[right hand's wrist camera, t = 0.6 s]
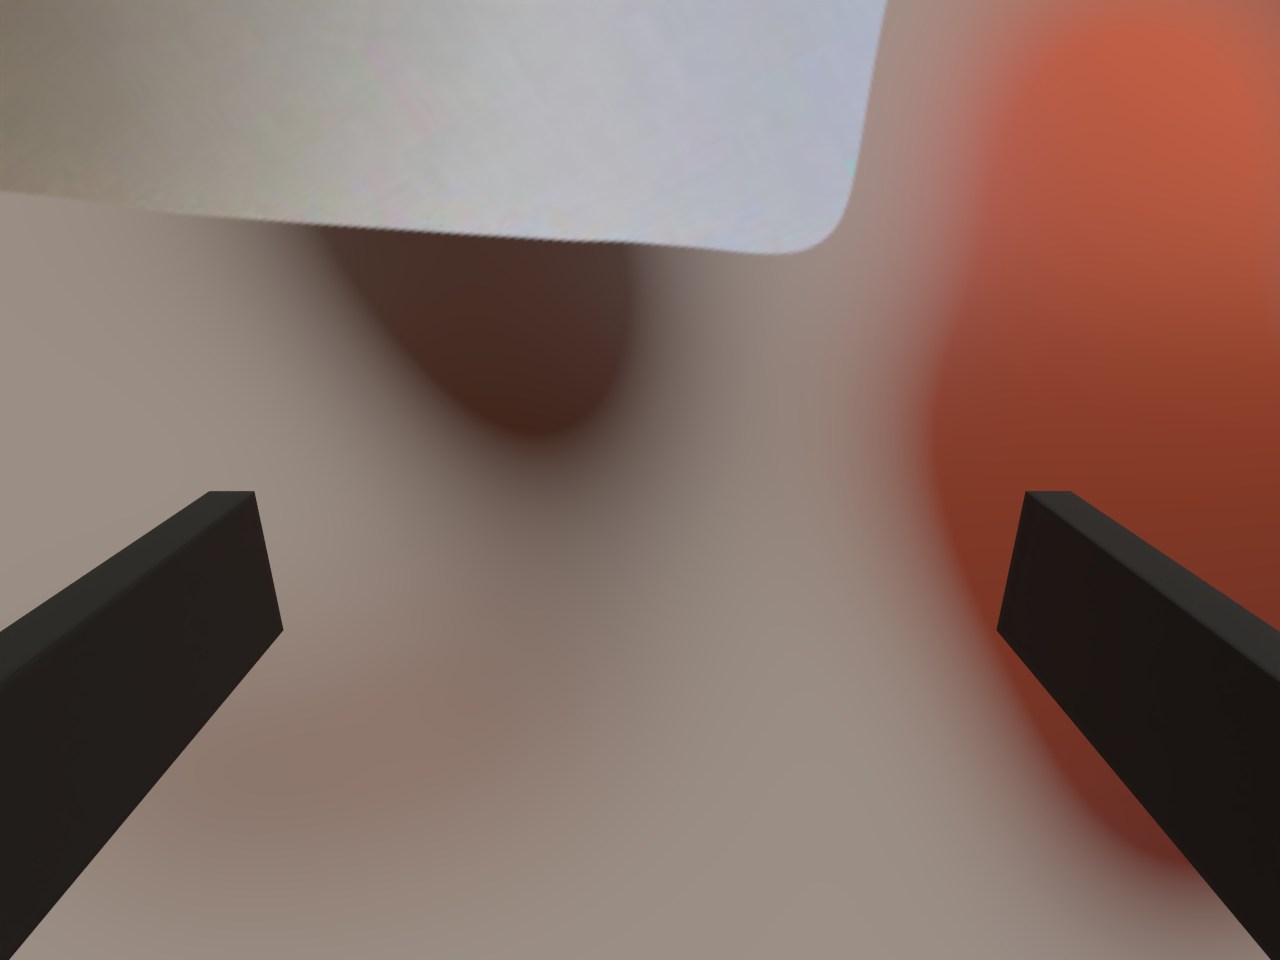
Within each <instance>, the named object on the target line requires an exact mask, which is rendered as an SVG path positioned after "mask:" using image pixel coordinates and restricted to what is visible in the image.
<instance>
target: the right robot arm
mask: <svg viewBox="0 0 1280 960" xmlns="http://www.w3.org/2000/svg"><path fill="white" fill-rule="evenodd" d="M282 631H283V626H282V621H281V616H280V612H279V607H278V602H277V597H276V592H275V588H274V583H273V578H272V573H271V569H270V564H269V559H268V554H267V549H266V545H265V540H264V535H263V530H262V526H261V521H260V516H259V512H258V506H257V502H256V497H255V492H254V491H209V492H208V493H206V494H205V495H203V496H202V497H200V498H199V499H197V500H196V501H194V502H193V503H191V504H190V505H188V506H187V507H185V508H184V509H182V510H181V511H179V512H178V513H176V514H175V515H173V516H172V517H170V518H169V519H167V520H166V521H164V522H163V523H162V524H160V525H158V526H157V527H155V528H154V529H153V530H151V531H150V532H148V533H147V534H145V535H144V536H142V537H141V538H139V539H138V540H136V541H135V542H133V543H132V544H130V545H129V546H127V547H126V548H124V549H123V550H121V551H120V552H118V553H117V554H115V555H114V556H112V557H111V558H109V559H108V560H106V561H105V562H103V563H102V564H100V565H99V566H98V567H96V568H95V569H93V570H92V571H90V572H89V573H87V574H86V575H84V576H83V577H81V578H80V579H78V580H77V581H75V582H74V583H72V584H71V585H69V586H68V587H66V588H65V589H63V590H62V591H60V592H59V593H57V594H56V595H54V596H53V597H51V598H50V599H48V600H47V601H46V602H44V603H43V604H41V605H40V606H38V607H37V608H35V609H34V610H32V611H31V612H29V613H28V614H26V615H25V616H23V617H22V618H20V619H19V620H17V621H16V622H14V623H13V624H11V625H10V626H8V627H7V628H5V629H4V630H2V631H1V632H0V960H9V959H10V958H11V957H12V956H13V954H14V953H15V952H16V951H17V950H18V948H19V947H20V946H21V945H22V944H23V942H24V941H25V940H26V939H27V938H28V936H29V935H30V934H31V933H32V932H33V930H34V929H35V928H36V927H37V926H38V924H39V923H40V922H41V921H42V920H43V918H44V917H45V916H46V915H47V914H48V912H49V911H50V910H51V909H52V908H53V906H54V905H55V904H56V903H57V902H58V900H59V899H60V898H61V897H62V896H63V894H64V893H65V892H66V891H67V889H68V888H69V887H70V886H71V885H72V884H73V882H74V881H75V880H76V879H77V877H78V876H79V875H80V874H81V873H82V872H83V870H84V869H85V868H86V867H87V866H88V864H89V863H90V862H91V861H92V860H93V858H94V857H95V856H96V855H97V853H98V852H99V851H100V850H101V849H102V848H103V846H104V845H105V844H106V843H107V842H108V840H109V839H110V838H111V837H112V835H113V834H114V833H115V832H116V831H117V829H118V828H119V827H120V826H121V825H122V823H123V822H124V821H125V820H126V819H127V817H128V816H129V815H130V814H131V813H132V811H133V810H134V809H135V808H136V807H137V805H138V804H139V803H140V802H141V801H142V799H143V798H144V797H145V796H146V795H147V793H148V792H149V791H150V790H151V789H152V787H153V786H154V785H155V784H156V783H157V781H158V780H159V779H160V778H161V777H162V775H163V774H164V773H165V772H166V771H167V769H168V768H169V767H170V766H171V765H172V763H173V762H174V761H175V760H176V759H177V757H178V756H179V755H180V754H181V753H182V751H183V750H184V749H185V748H186V747H187V745H188V744H189V743H190V742H191V741H192V739H193V738H194V737H195V736H196V735H197V733H198V732H199V731H200V730H201V729H202V727H203V726H204V725H205V724H206V723H207V721H208V720H209V719H210V718H211V717H212V715H213V714H214V713H215V712H216V711H217V709H218V708H219V707H220V706H221V704H222V703H223V702H224V701H225V700H226V699H227V697H228V696H229V695H230V694H231V692H232V691H233V690H234V689H235V688H236V686H237V685H238V684H239V683H240V682H241V680H242V679H243V678H244V677H245V676H246V674H247V673H248V672H249V671H250V670H251V668H252V667H253V666H254V665H255V664H256V662H257V661H258V660H259V659H260V658H261V656H262V655H263V654H264V653H265V652H266V650H267V649H268V648H269V647H270V646H271V644H272V643H273V642H274V641H275V640H276V638H277V637H278V636H279V635H280V634H281V632H282ZM997 631H998V632H999V634H1000V635H1001V636H1002V637H1003V638H1004V640H1005V641H1006V642H1007V643H1008V644H1009V646H1010V647H1011V648H1012V649H1013V650H1014V652H1015V653H1016V654H1017V655H1018V656H1019V658H1020V659H1021V660H1022V661H1023V662H1024V664H1025V665H1026V666H1027V667H1028V668H1029V670H1030V671H1031V672H1032V673H1033V674H1034V676H1035V677H1036V678H1037V679H1038V680H1039V682H1040V683H1041V684H1042V685H1043V686H1044V688H1045V689H1046V690H1047V691H1048V692H1049V694H1050V695H1051V696H1052V697H1053V698H1054V700H1055V701H1056V702H1057V703H1058V704H1059V706H1060V707H1061V708H1062V709H1063V711H1064V712H1065V713H1066V714H1067V715H1068V717H1069V718H1070V719H1071V720H1072V721H1073V723H1074V724H1075V725H1076V726H1077V727H1078V729H1079V730H1080V731H1081V732H1082V733H1083V735H1084V736H1085V737H1086V738H1087V739H1088V741H1089V742H1090V743H1091V744H1092V745H1093V746H1094V748H1095V749H1096V750H1097V751H1098V753H1099V754H1100V755H1101V756H1102V757H1103V759H1104V760H1105V761H1106V762H1107V763H1108V765H1109V766H1110V767H1111V768H1112V769H1113V771H1114V772H1115V773H1116V774H1117V775H1118V777H1119V778H1120V779H1121V780H1122V781H1123V783H1124V784H1125V785H1126V786H1127V787H1128V789H1129V790H1130V791H1131V792H1132V793H1133V795H1134V796H1135V797H1136V798H1137V799H1138V801H1139V802H1140V803H1141V804H1142V805H1143V807H1144V808H1145V809H1146V810H1147V811H1148V813H1149V814H1150V815H1151V816H1152V817H1153V819H1154V820H1155V821H1156V822H1157V823H1158V825H1159V826H1160V827H1161V828H1162V829H1163V831H1164V832H1165V833H1166V834H1167V835H1168V837H1169V838H1170V839H1171V840H1172V841H1173V843H1174V844H1175V845H1176V846H1177V848H1178V849H1179V850H1180V851H1181V852H1182V853H1183V855H1184V856H1185V857H1186V858H1187V860H1188V861H1189V862H1190V863H1191V864H1192V866H1193V867H1194V868H1195V869H1196V870H1197V871H1198V873H1199V874H1200V875H1201V876H1202V878H1203V879H1204V880H1205V881H1206V882H1207V884H1208V885H1209V886H1210V887H1211V888H1212V890H1213V891H1214V892H1215V893H1216V894H1217V896H1218V897H1219V898H1220V899H1221V900H1222V902H1223V903H1224V904H1225V905H1226V906H1227V908H1228V909H1229V910H1230V911H1231V912H1232V914H1233V915H1234V916H1235V917H1236V918H1237V920H1238V921H1239V922H1240V923H1241V924H1242V925H1243V927H1244V928H1245V929H1246V930H1247V932H1248V933H1249V934H1250V935H1251V936H1252V938H1253V939H1254V940H1255V941H1256V942H1257V944H1258V945H1259V946H1260V947H1261V948H1262V950H1263V951H1264V952H1265V953H1266V954H1267V956H1268V957H1269V958H1270V959H1271V960H1280V632H1279V631H1278V630H1276V629H1275V628H1273V627H1272V626H1270V625H1269V624H1267V623H1266V622H1264V621H1263V620H1261V619H1260V618H1258V617H1257V616H1255V615H1254V614H1252V613H1251V612H1249V611H1248V610H1246V609H1245V608H1243V607H1242V606H1240V605H1239V604H1238V603H1236V602H1235V601H1233V600H1232V599H1230V598H1229V597H1227V596H1226V595H1224V594H1223V593H1221V592H1220V591H1218V590H1217V589H1215V588H1214V587H1212V586H1211V585H1209V584H1208V583H1206V582H1205V581H1203V580H1202V579H1200V578H1199V577H1197V576H1196V575H1194V574H1193V573H1191V572H1190V571H1188V570H1187V569H1185V568H1184V567H1182V566H1181V565H1179V564H1178V563H1177V562H1175V561H1174V560H1172V559H1171V558H1169V557H1168V556H1166V555H1165V554H1163V553H1162V552H1160V551H1159V550H1157V549H1156V548H1154V547H1153V546H1151V545H1150V544H1148V543H1147V542H1145V541H1144V540H1142V539H1141V538H1139V537H1138V536H1136V535H1135V534H1133V533H1132V532H1130V531H1129V530H1127V529H1126V528H1125V527H1123V526H1122V525H1120V524H1119V523H1117V522H1115V521H1114V520H1112V519H1111V518H1110V517H1108V516H1107V515H1105V514H1104V513H1102V512H1101V511H1099V510H1098V509H1096V508H1095V507H1093V506H1092V505H1090V504H1089V503H1087V502H1086V501H1084V500H1083V499H1081V498H1080V497H1078V496H1077V495H1075V494H1074V493H1072V492H1071V491H1026V492H1025V497H1024V502H1023V507H1022V511H1021V516H1020V521H1019V526H1018V531H1017V535H1016V540H1015V545H1014V549H1013V554H1012V559H1011V564H1010V569H1009V573H1008V578H1007V583H1006V588H1005V592H1004V597H1003V602H1002V607H1001V611H1000V616H999V621H998V626H997Z"/></svg>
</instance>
